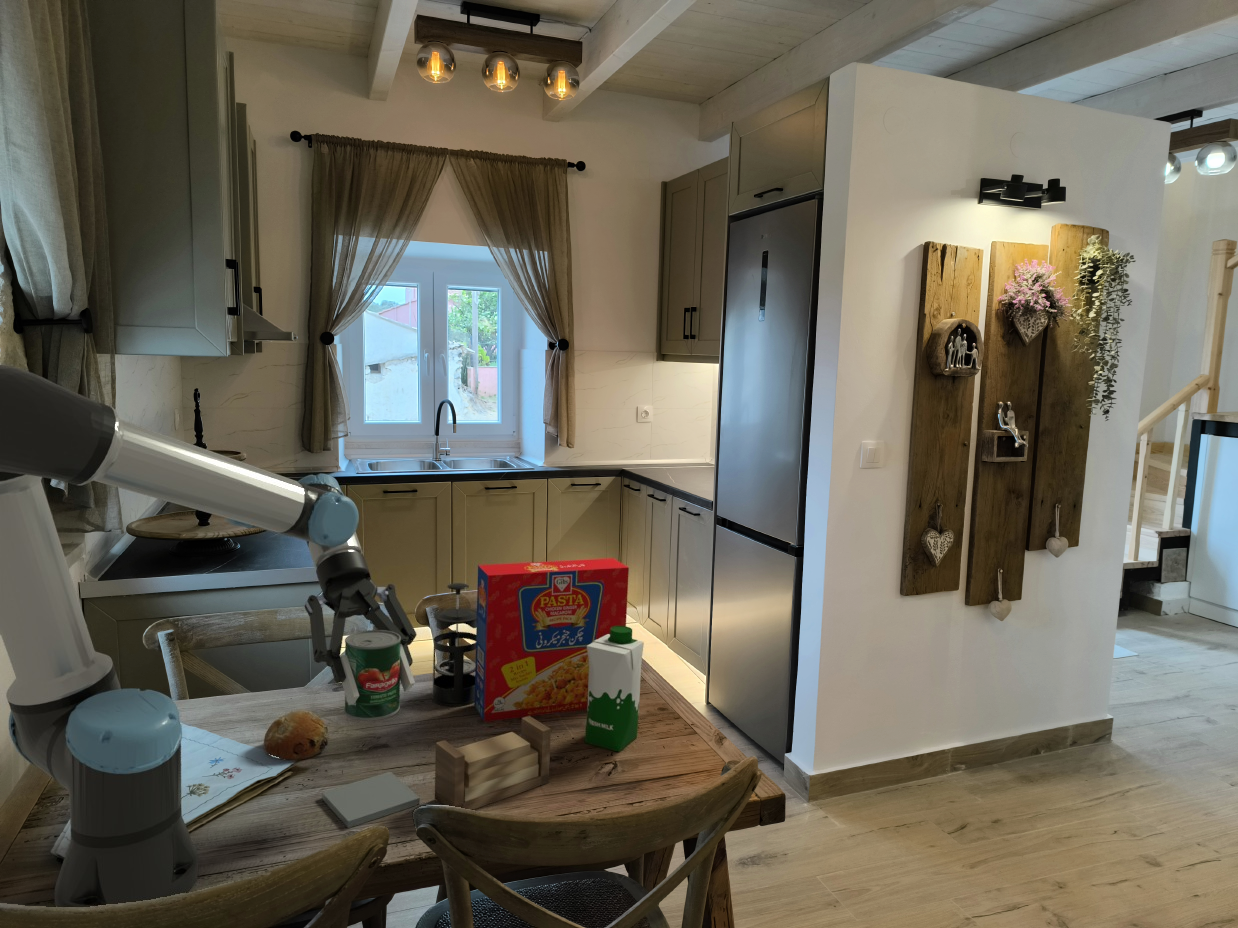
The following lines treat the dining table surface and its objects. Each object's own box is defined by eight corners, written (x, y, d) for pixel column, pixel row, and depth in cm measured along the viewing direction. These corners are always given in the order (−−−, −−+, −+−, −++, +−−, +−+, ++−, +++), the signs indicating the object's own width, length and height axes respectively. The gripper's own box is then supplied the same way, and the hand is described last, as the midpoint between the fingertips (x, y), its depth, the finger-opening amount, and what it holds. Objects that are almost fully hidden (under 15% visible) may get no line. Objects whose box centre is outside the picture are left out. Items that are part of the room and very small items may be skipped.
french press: (482, 705, 160) (486, 590, 157) (433, 709, 157) (436, 592, 154) (475, 683, 171) (477, 575, 168) (428, 686, 168) (431, 577, 166)
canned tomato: (367, 695, 127) (368, 626, 126) (410, 704, 124) (411, 634, 123) (332, 714, 120) (333, 641, 119) (377, 724, 117) (378, 650, 116)
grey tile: (348, 827, 116) (348, 821, 116) (321, 798, 124) (321, 791, 124) (419, 803, 123) (419, 797, 123) (390, 777, 131) (390, 771, 131)
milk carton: (643, 736, 150) (649, 630, 147) (620, 755, 142) (626, 643, 139) (601, 725, 154) (606, 621, 151) (577, 743, 146) (581, 634, 143)
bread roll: (310, 752, 146) (297, 708, 147) (346, 742, 141) (333, 697, 141) (260, 774, 137) (247, 727, 138) (297, 764, 132) (283, 716, 133)
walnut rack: (454, 816, 120) (455, 757, 119) (434, 798, 125) (435, 742, 124) (548, 782, 131) (550, 728, 130) (527, 767, 136) (529, 715, 135)
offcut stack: (464, 801, 122) (465, 764, 121) (447, 786, 126) (447, 750, 125) (538, 776, 130) (539, 741, 130) (519, 762, 134) (520, 729, 134)
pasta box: (484, 721, 153) (488, 575, 150) (474, 705, 160) (478, 565, 157) (622, 704, 164) (628, 567, 161) (607, 689, 171) (613, 558, 168)
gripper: (393, 567, 138) (437, 689, 128) (266, 583, 125) (304, 722, 115) (408, 542, 134) (455, 667, 123) (277, 556, 120) (318, 698, 110)
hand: (382, 693), depth 119 cm, fingers closed on canned tomato, 8 cm apart
